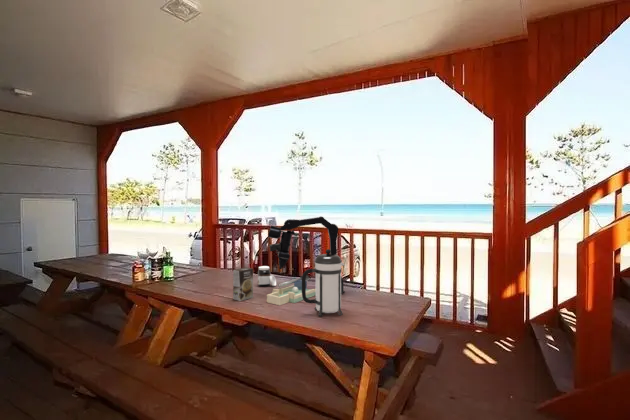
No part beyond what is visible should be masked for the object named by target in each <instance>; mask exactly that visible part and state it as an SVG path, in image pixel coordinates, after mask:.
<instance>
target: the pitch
mask: <svg viewBox="0 0 630 420" xmlns="http://www.w3.org/2000/svg"><path fill="white" fill-rule="evenodd" d="M293 287H294V284H292V285H289V286H286V287H282V288H281V287H279V288H272V291H271V293H268V294H266V303H268V304H273V305H275V306H282V305H285V304H288V303H292V304H296V303H299V302H302V301H304V300H303V297H302V289H298V292H296V293H294V292H293V291H292V289H293ZM314 296H315V297H316V287H315V288H312V289H310V288H309V289H308V288H307V290H306V298H307V299H309V298H311V297H314Z"/></svg>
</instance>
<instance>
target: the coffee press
mask: <svg viewBox="0 0 630 420" xmlns="http://www.w3.org/2000/svg"><path fill="white" fill-rule="evenodd" d="M330 252H331V251H330V248H328V249H326V250H325V253H322V254H319V255H317V256H316V257H315V259H314V264H315V268H308V269H305V271H304V272H303V273H302V275H301V276H302V297H303V300H302V301H304V302H305V303H307V304H315V307H314V311H317V312H318V317H321V318H323V316H324V315H325V314H334V313H337V315H338V316H339V317H341V316H343V314H344V313H343V311H342V309H341V308H342V294H341V277H342V271H343V270H342V266H345V263H344V262H343V261H342V258H341V257H340V256H339V255H335V254H330ZM312 273H315V288H316V295H315V298H314V299H309V298H306V281H307V280H306V276H307V275H308V276H309V274H312Z"/></svg>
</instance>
